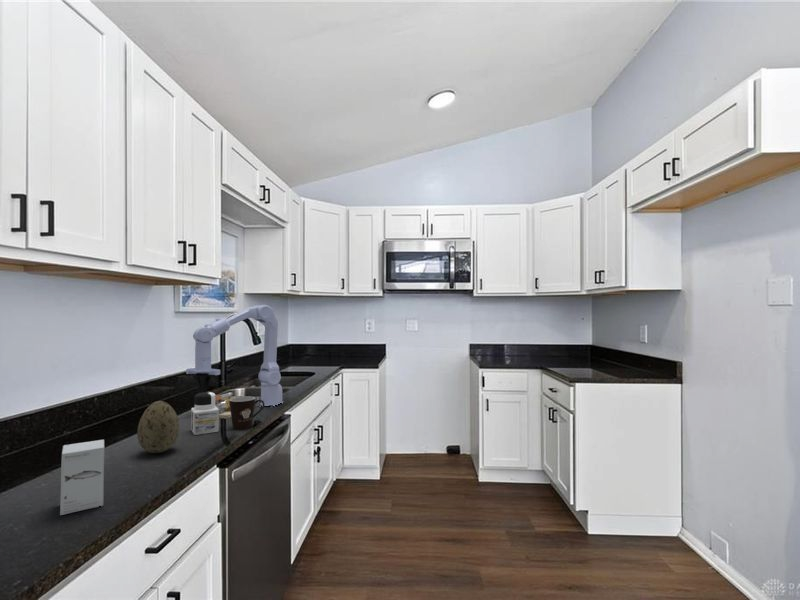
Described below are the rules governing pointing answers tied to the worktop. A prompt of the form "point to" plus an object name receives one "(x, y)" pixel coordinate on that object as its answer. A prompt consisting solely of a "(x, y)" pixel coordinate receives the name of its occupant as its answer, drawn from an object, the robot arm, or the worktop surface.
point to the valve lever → (223, 396)
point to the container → (204, 414)
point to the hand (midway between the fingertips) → (203, 392)
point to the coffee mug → (243, 412)
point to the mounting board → (225, 414)
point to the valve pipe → (224, 404)
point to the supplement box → (82, 476)
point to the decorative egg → (158, 427)
